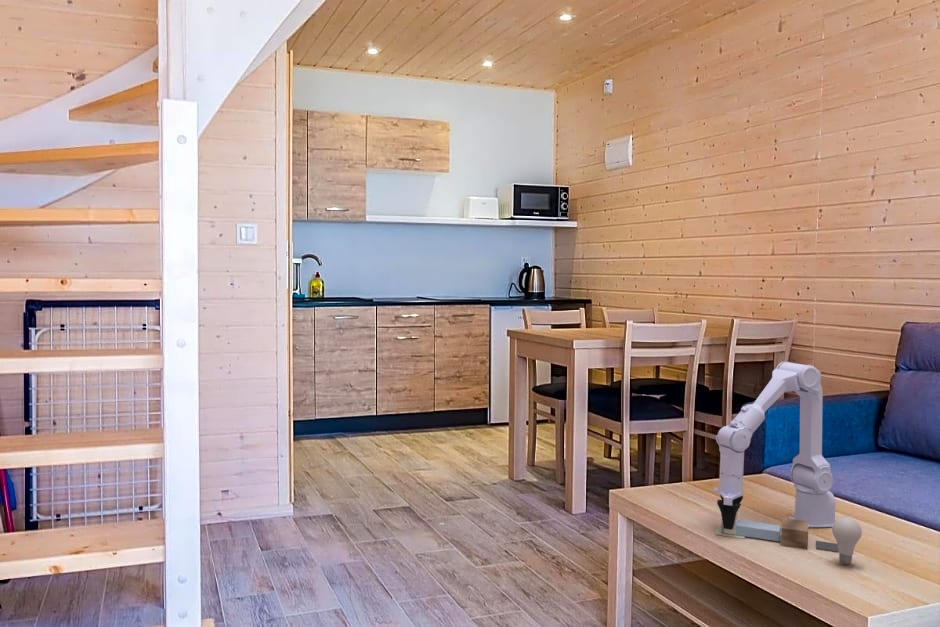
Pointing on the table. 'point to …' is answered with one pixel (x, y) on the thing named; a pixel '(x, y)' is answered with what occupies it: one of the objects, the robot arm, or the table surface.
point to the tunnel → (794, 533)
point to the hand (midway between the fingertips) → (729, 525)
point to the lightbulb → (846, 537)
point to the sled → (754, 530)
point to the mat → (718, 532)
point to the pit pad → (827, 546)
